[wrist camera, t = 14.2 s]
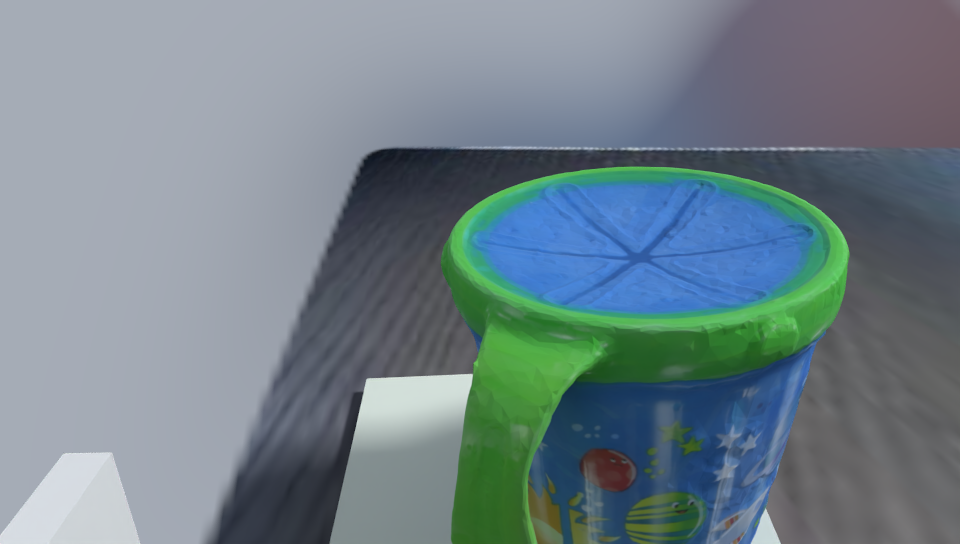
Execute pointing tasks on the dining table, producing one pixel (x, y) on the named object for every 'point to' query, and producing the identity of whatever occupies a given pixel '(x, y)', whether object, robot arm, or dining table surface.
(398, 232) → the dining table surface
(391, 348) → the dining table surface
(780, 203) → the snack cup
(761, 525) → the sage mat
